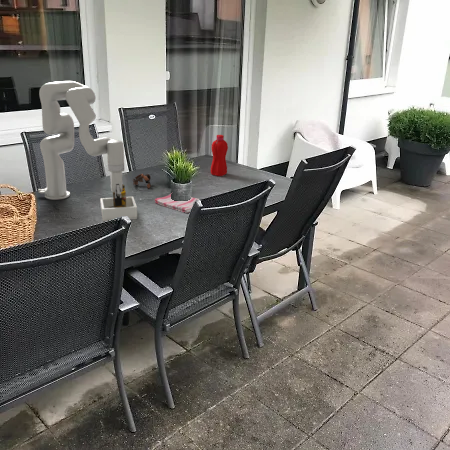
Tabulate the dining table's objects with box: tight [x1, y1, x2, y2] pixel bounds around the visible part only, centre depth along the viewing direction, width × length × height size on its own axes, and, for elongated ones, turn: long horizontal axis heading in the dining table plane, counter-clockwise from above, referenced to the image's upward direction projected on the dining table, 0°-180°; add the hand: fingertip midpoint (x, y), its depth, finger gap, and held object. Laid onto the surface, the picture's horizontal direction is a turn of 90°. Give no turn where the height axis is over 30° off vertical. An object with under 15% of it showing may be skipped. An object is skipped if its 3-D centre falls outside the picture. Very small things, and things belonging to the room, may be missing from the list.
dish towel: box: [154, 193, 200, 214], centre depth 246 cm, size 17×23×4 cm
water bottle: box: [210, 134, 229, 177], centre depth 291 cm, size 9×11×25 cm
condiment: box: [107, 183, 127, 208], centre depth 226 cm, size 7×8×12 cm
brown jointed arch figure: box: [132, 173, 152, 189], centre depth 270 cm, size 12×10×8 cm
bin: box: [99, 196, 138, 222], centre depth 228 cm, size 16×15×6 cm
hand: (117, 202), depth 227 cm, fingers closed on condiment, 6 cm apart
